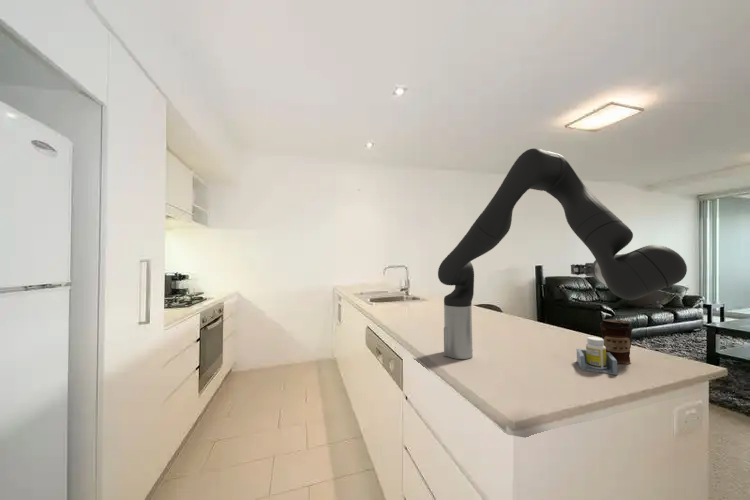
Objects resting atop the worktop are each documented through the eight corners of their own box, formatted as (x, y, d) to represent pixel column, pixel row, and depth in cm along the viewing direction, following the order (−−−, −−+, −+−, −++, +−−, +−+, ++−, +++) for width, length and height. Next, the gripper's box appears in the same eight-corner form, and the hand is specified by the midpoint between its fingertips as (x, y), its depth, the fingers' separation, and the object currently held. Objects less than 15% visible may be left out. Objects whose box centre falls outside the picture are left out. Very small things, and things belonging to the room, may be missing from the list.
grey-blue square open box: (581, 369, 84) (580, 356, 84) (576, 361, 91) (576, 348, 91) (617, 375, 80) (616, 360, 80) (610, 365, 87) (609, 352, 87)
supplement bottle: (599, 364, 87) (598, 336, 87) (611, 370, 82) (609, 340, 83) (583, 363, 88) (582, 336, 88) (593, 369, 83) (592, 340, 83)
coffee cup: (638, 367, 85) (636, 324, 86) (603, 362, 89) (601, 321, 90) (631, 359, 92) (629, 319, 93) (599, 355, 97) (597, 317, 97)
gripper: (658, 253, 59) (633, 255, 74) (576, 254, 66) (568, 255, 80) (660, 288, 59) (635, 283, 73) (577, 286, 66) (569, 282, 80)
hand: (600, 269), depth 77 cm, fingers open, 8 cm apart
